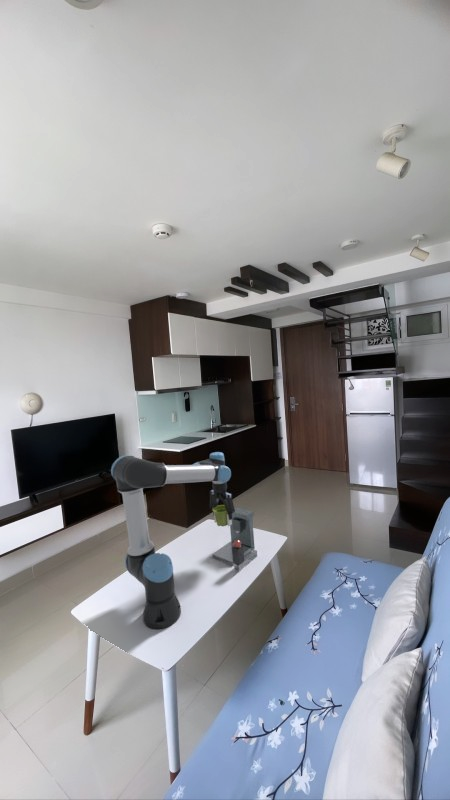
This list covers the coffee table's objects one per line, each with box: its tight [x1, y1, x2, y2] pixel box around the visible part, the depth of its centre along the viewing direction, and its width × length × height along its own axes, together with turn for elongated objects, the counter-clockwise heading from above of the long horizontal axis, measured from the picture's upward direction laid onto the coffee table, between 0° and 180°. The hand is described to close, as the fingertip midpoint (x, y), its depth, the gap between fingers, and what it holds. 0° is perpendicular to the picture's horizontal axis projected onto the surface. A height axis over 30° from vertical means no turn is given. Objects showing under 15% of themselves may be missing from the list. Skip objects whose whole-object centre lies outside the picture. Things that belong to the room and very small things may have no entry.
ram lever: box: [232, 540, 244, 565], centre depth 159 cm, size 4×4×11 cm
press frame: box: [211, 506, 258, 572], centre depth 171 cm, size 23×20×20 cm
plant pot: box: [211, 504, 228, 527], centre depth 170 cm, size 9×9×9 cm
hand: (223, 523), depth 171 cm, fingers closed on plant pot, 8 cm apart
